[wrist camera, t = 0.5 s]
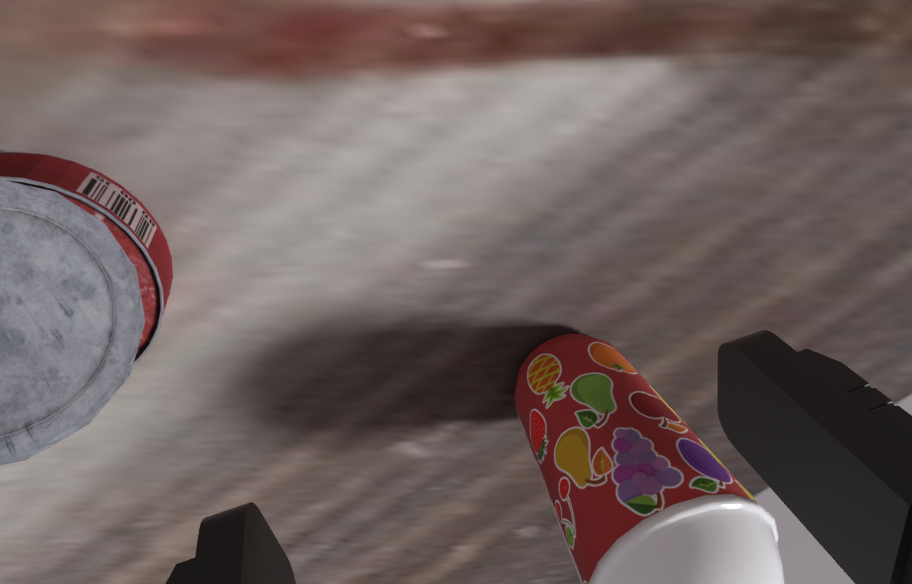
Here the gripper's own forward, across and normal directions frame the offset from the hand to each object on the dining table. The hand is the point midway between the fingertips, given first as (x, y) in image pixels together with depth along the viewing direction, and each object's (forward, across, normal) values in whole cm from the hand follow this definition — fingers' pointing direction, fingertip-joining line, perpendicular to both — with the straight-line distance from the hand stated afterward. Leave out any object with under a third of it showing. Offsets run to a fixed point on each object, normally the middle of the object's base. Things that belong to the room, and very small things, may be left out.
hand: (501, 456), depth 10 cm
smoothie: (+21, -7, +17) cm, 28 cm away
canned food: (+21, +15, +2) cm, 25 cm away
